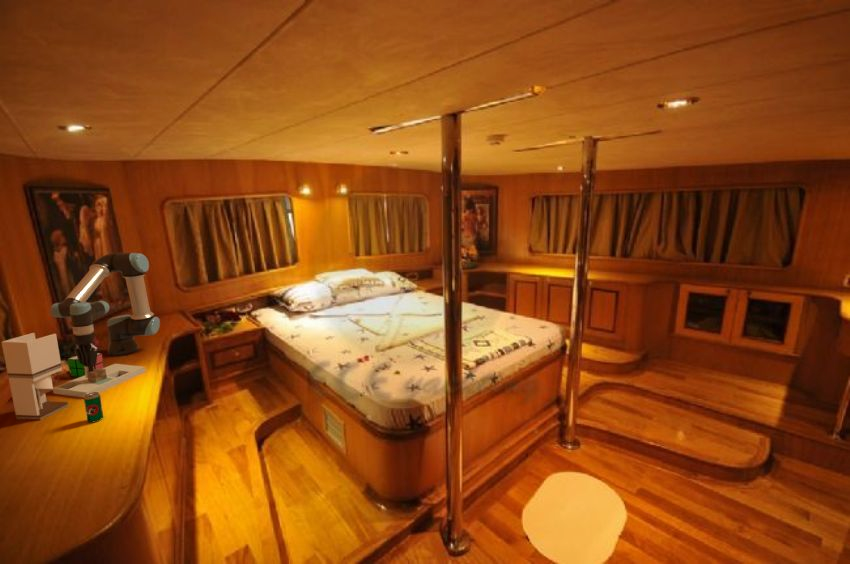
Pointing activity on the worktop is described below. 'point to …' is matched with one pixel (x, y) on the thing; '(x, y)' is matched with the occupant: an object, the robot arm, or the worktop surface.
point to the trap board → (114, 377)
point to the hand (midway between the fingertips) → (90, 377)
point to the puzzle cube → (78, 368)
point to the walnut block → (97, 375)
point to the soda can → (93, 406)
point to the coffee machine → (32, 374)
